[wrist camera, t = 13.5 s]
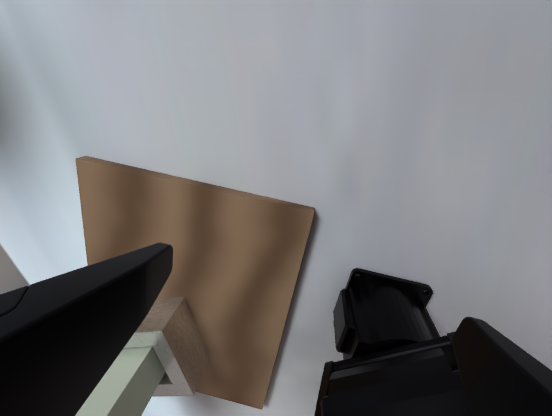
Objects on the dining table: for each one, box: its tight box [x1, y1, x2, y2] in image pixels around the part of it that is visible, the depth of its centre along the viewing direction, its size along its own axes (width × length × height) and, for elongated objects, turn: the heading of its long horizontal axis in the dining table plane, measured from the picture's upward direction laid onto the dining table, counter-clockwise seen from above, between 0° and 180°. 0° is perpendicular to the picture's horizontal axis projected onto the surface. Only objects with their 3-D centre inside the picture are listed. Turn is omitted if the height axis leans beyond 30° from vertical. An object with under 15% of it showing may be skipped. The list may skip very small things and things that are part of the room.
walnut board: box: [76, 156, 314, 409], centre depth 26 cm, size 19×24×1 cm
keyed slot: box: [124, 297, 210, 396], centre depth 26 cm, size 10×8×4 cm
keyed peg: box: [75, 346, 166, 416], centre depth 22 cm, size 5×3×12 cm, turn 104°
